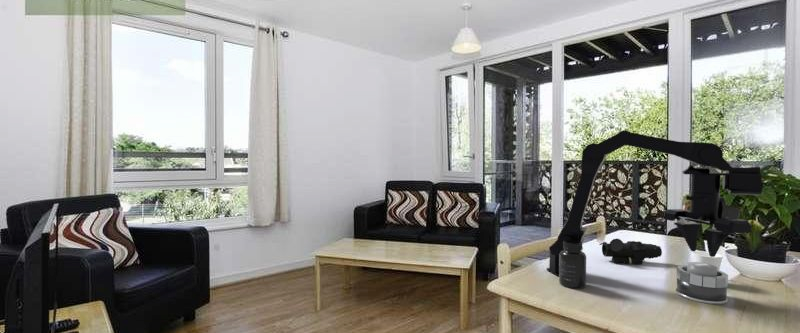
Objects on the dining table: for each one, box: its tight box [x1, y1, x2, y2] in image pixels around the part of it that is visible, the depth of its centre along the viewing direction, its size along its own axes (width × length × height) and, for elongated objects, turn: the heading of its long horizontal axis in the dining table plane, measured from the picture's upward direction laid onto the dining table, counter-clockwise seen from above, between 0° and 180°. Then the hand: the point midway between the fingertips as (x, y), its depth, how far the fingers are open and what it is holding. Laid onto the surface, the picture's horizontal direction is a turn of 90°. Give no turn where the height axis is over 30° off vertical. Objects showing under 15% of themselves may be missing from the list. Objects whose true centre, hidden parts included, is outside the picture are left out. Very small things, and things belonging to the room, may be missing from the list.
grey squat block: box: [686, 261, 717, 276], centre depth 97 cm, size 6×6×4 cm
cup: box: [691, 250, 723, 271], centre depth 109 cm, size 7×10×8 cm
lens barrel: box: [675, 264, 729, 305], centre depth 97 cm, size 10×10×6 cm
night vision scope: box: [599, 238, 663, 265], centre depth 127 cm, size 8×18×10 cm
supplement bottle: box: [558, 240, 587, 290], centre depth 105 cm, size 7×7×12 cm
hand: (702, 253), depth 97 cm, fingers open, 5 cm apart
